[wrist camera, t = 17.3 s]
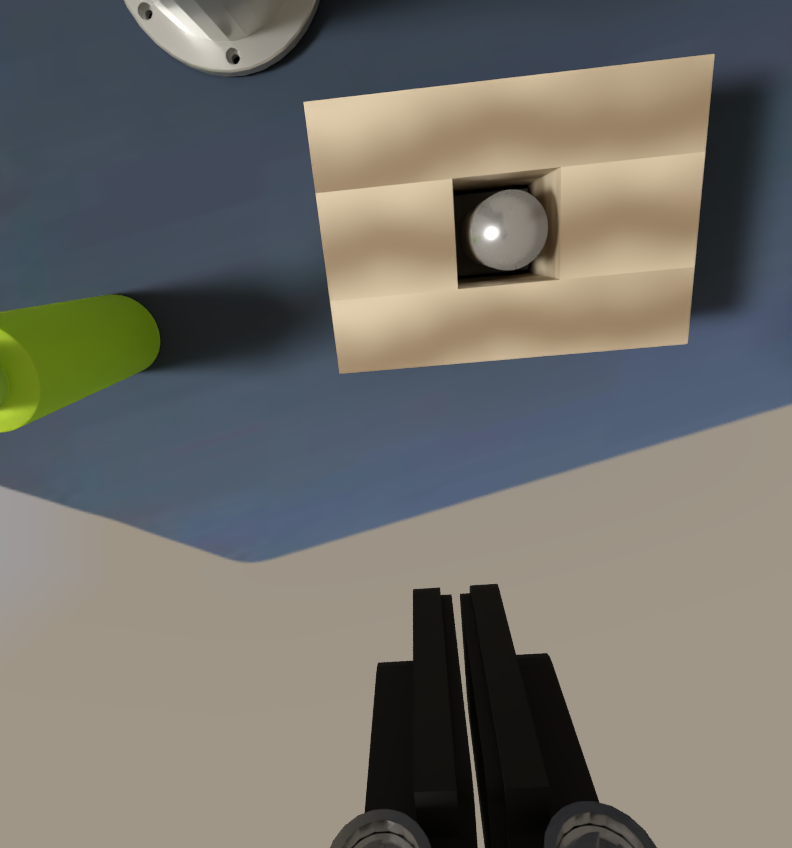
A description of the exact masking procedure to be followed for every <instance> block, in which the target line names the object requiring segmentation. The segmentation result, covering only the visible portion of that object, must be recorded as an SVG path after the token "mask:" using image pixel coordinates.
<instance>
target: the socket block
mask: <svg viewBox="0 0 792 848" xmlns="http://www.w3.org/2000/svg"><path fill="white" fill-rule="evenodd" d="M714 55H715V54H710V55H701V56H692V57H684V58H675V59H667V60H658V61H650V62H641V63H633V64H624V65H616V66H607V67H599V68H590V69H582V70H573V71H564V72H556V73H547V74H539V75H530V76H522V77H513V78H505V79H496V80H488V81H479V82H471V83H462V84H454V85H445V86H436V87H428V88H419V89H411V90H402V91H394V92H385V93H377V94H368V95H360V96H351V97H343V98H334V99H326V100H317V101H308V102H304V110H305V117H306V125H307V132H308V140H309V147H310V155H311V162H312V170H313V177H314V185H315V192H316V200H317V207H318V215H319V222H320V230H321V237H322V245H323V252H324V260H325V267H326V275H327V282H328V290H329V297H330V305H331V312H332V320H333V327H334V335H335V342H336V350H337V357H338V365H339V372H340V374H342V373H354V372H365V371H377V370H389V369H400V368H412V367H424V366H435V365H447V364H458V363H470V362H482V361H493V360H505V359H517V358H528V357H540V356H551V355H563V354H575V353H586V352H598V351H610V350H621V349H633V348H644V347H656V346H668V345H679V344H687V343H688V333H689V322H690V311H691V301H692V290H693V279H694V269H695V258H696V247H697V237H698V226H699V215H700V205H701V194H702V183H703V173H704V162H705V151H706V141H707V130H708V119H709V109H710V98H711V87H712V77H713V66H714ZM520 185H528V193H529V194H531V195H532V196H534V197H535V198H536V199H537V200H538V201H539V202H540V203H541V205H542V206H543V208H544V210H545V213H546V216H547V220H548V234H547V238H546V242H545V244H544V246H543V248H542V250H541V252H540V253H539V254H538V256H537V257H536V258H535V259H534V260H533V261H531V262H530V263H529V264H528V273H517V274H507V275H496V276H486V277H475V278H465V279H457V262H456V243H455V224H454V205H453V192H463V191H472V190H482V189H491V188H501V187H510V186H520Z"/></svg>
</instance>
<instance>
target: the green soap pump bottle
mask: <svg viewBox="0 0 792 848" xmlns="http://www.w3.org/2000/svg"><path fill="white" fill-rule="evenodd" d="M159 348H160V334H159V330H158V327H157V324H156V322H155V320H154V318H153V317H152V315H151V314H150V313H149V312H148V310H147V309H146V308H145V307H143V306H142V305H141V304H140V303H138V302H137V301H135V300H133V299H131V298H129V297H126V296H122V295H114V294H112V295H104V296H98V297H91V298H85V299H79V300H73V301H66V302H60V303H54V304H48V305H41V306H35V307H29V308H23V309H16V310H10V311H4V312H0V433H1V432H8V431H12V430H15V429H18V428H20V427H22V426H24V425H26V424H28V423H31V422H33V421H35V420H37V419H39V418H41V417H44V416H46V415H48V414H50V413H52V412H54V411H56V410H59V409H61V408H63V407H65V406H67V405H69V404H72V403H74V402H76V401H78V400H80V399H82V398H85V397H87V396H89V395H91V394H93V393H95V392H97V391H100V390H102V389H104V388H106V387H108V386H110V385H113V384H115V383H117V382H119V381H121V380H123V379H126V378H128V377H130V376H132V375H134V374H136V373H138V372H141V371H143V370H145V369H146V368H148V367H149V366H150V365H151V364H152V363H153V362H154V360H155V359H156V357H157V355H158V352H159Z"/></svg>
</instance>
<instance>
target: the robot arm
mask: <svg viewBox="0 0 792 848" xmlns="http://www.w3.org/2000/svg"><path fill="white" fill-rule="evenodd" d="M319 1H320V0H124V2H125V4H126V6H127V8H128V9H129V11H130V12H131V13H132V15H133V16H134V18H135V19H136V21H137V22H138V24H139V25H140V27H141V28H142V29H143V30H144V31H145V32H146V33H147V34H148V35H149V36H150V38H151V39H152V40H153V41H154V42H155V43H156V44H157V45H158V46H160V47H161V48H162V49H163V50H165V51H166V52H167V53H168V54H169V55H171V56H172V57H174V58H176V59H177V60H179V61H180V62H182V63H183V64H185V65H187V66H188V67H191V68H193V69H196V70H199V71H201V72H204V73H206V74H212V75H218V76H224V77H231V76H245V75H249V74H252V73H255V72H259V71H262V70H264V69H266V68H268V67H269V66H271V65H273V64H275V63H276V62H278V61H280V60H281V59H282V58H283V57H284V56H285V55H287V54H288V53H289V52H290V51H291V50H292V49H293V48H294V47H295V46H296V45H297V43H298V42H299V41H300V39H301V38H302V37H303V35H304V34H305V33H306V31H307V30H308V28H309V26H310V23H311V21H312V19H313V17H314V15H315V13H316V11H317V8H318V5H319ZM151 13H152V17H151V19H149V15H150V14H151ZM236 57H240V61H239V62H238V63H237V64H234V59H235V58H236ZM460 602H461V603H460V604H461V618H462V632H463V645H464V646H463V647H464V660H465V675H466V688H467V702H468V713H469V721H470V729H471V738H472V746H473V754H474V762H475V771H476V778H477V787H478V795H479V803H480V812H481V820H482V828H483V836H484V844H485V848H657V847H656V846H655V844H654V843H653V841H652V840H651V838H650V837H649V836H648V834H647V833H646V831H645V830H644V829H643V828H642V827H641V826H640V825H638V824H637V823H636V822H635V821H634V820H633V819H632V818H631V817H630V816H628V815H627V814H625V813H623V812H621V811H619V810H618V809H616V808H614V807H612V806H609V805H606V804H602V803H599V800H598V797H597V794H596V791H595V788H594V785H593V782H592V780H591V776H590V773H589V770H588V768H587V765H586V762H585V759H584V756H583V753H582V750H581V747H580V744H579V741H578V738H577V735H576V732H575V729H574V726H573V723H572V720H571V717H570V714H569V711H568V708H567V705H566V702H565V699H564V696H563V694H562V691H561V688H560V685H559V682H558V679H557V676H556V673H555V670H554V667H553V664H552V661H551V659H550V657H549V655H548V654H547V653H543V654H524V655H516V653H515V650H514V646H513V641H512V638H511V634H510V630H509V626H508V622H507V618H506V614H505V610H504V606H503V602H502V599H501V595H500V591H499V587H498V585H497V584H488V585H473V586H470V593H467V594H460ZM367 780H368V781H367V792H366V804H365V813H364V814H361V815H358V816H357V817H356V818H354V819H353V820H352V821H350V822H349V823H348V824H346V825H345V826H344V827H343V829H342V830H341V831H340V833H339V834H338V835H337V837H336V838H335V839H334V840H333V842H332V845H331V847H330V848H478V847H477V833H476V818H475V804H474V793H473V781H472V771H471V763H470V754H469V745H468V736H467V727H466V718H465V710H464V701H463V692H462V684H461V675H460V666H459V657H458V648H457V640H456V631H455V622H454V613H453V604H452V596H451V595H440V588H427V589H414V590H413V661H400V662H384V663H378V665H377V672H376V684H375V695H374V708H373V720H372V731H371V744H370V755H369V769H368V779H367Z"/></svg>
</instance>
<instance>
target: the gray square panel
mask: <svg viewBox="0 0 792 848" xmlns="http://www.w3.org/2000/svg"><path fill="white" fill-rule="evenodd" d="M515 190H521V191H525V192H527V193H528V188H522V189H515ZM502 191H504V190H502ZM498 192H501V191H493V192H483V193H474V194H464V195H455V196H453V205H454V224H455V243H456V262H457V276H463V275H474V274H484V273H494V272H505V271H515V270H526V269H528V264H527V265H525V266H523V267H521V268H518V269H515V270H500V269H496V268H492V267H488V266H484V265H481V264H478V263H476V262H474V261H472V260H471V259H470V258H469V257H468V256H467V255H466V254H465V252H464V250H463V248H462V246H461V242H460V228H461V224H462V222H463V219H464V218H465V216H466V215H467V213H468V212H469V211H470V210H471V209H472V208H473V207H475V206H476V205H478V204H479V203H481V202H483V201H484V200H486V199H487V198H489V197H491V196H492V195H494V194H496V193H498Z"/></svg>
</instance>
